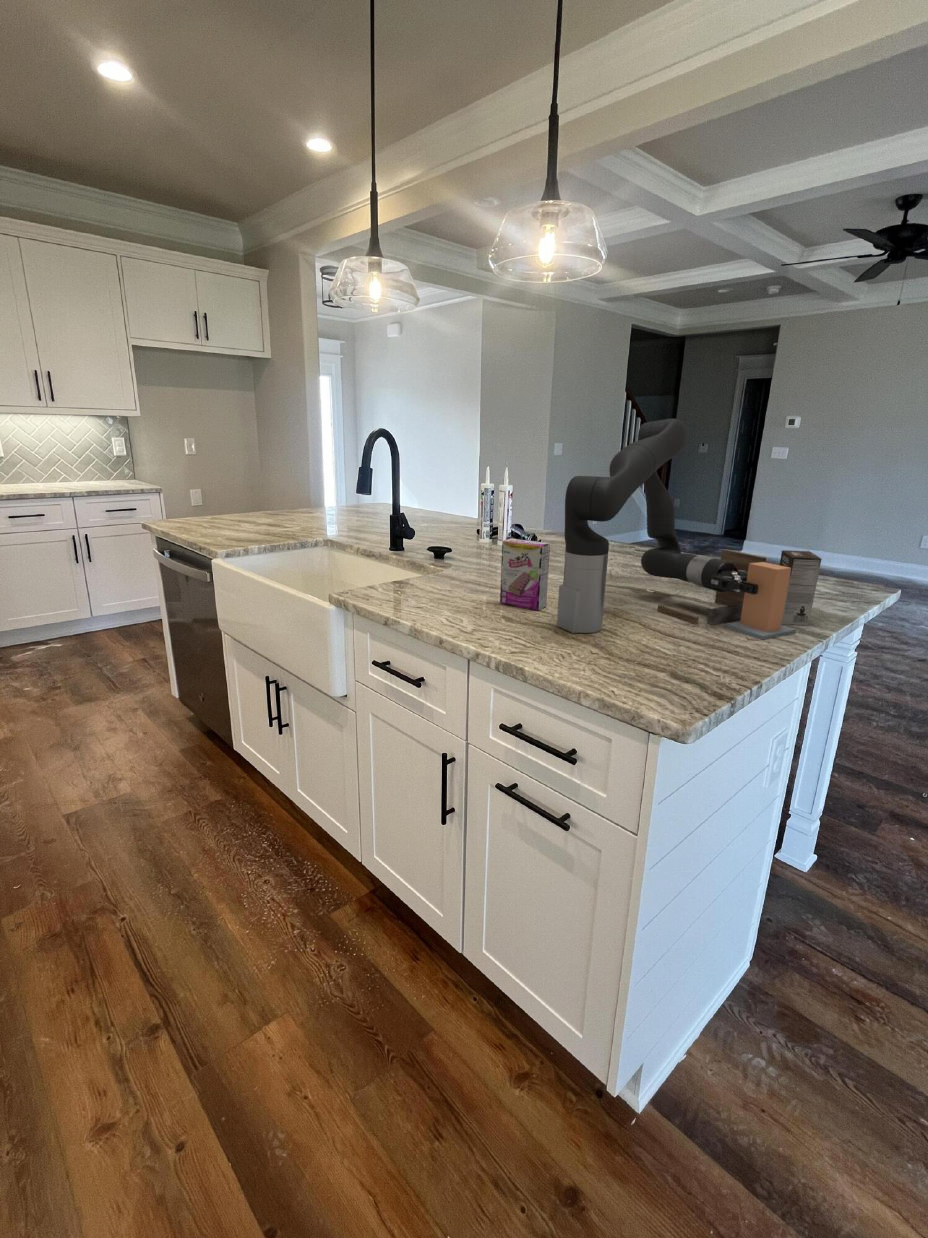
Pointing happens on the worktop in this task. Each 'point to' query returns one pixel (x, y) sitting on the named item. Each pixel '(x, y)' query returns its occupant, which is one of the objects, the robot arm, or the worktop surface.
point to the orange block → (765, 596)
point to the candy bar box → (524, 573)
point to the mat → (759, 633)
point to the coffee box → (800, 585)
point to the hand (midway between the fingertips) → (770, 587)
